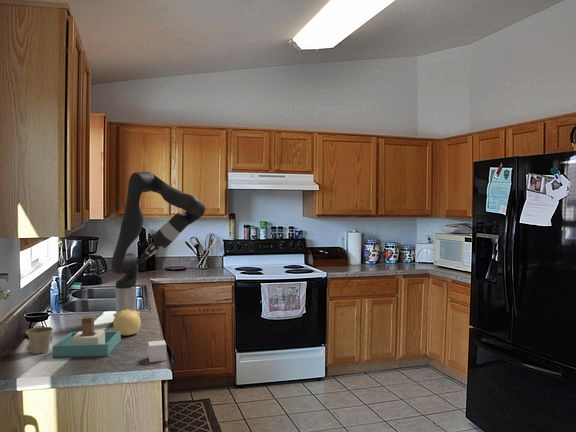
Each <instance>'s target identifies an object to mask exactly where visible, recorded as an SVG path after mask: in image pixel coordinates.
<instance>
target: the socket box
mask: <svg viewBox="0 0 576 432" xmlns="http://www.w3.org/2000/svg"><path fill="white" fill-rule="evenodd" d="M121 342H122V335H121V331H114V330H110V331H108V330H107V331H106V330H94V336H82V330H81V331H73V332H71V331H70V333H68V334H67V335H66V336H64V337H63V338H61V339H60V340H59V341H58V342H56V343H55V344H54V345H52V359H66V358H67V359H71V358H72V359H73V358H99V357H100V358H101V357H109V356H110V355H111V354H112V353H113V351H114V350H116V348H117V347H118V346H119V344H120V343H121Z"/></svg>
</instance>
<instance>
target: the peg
mask: <svg viewBox="0 0 576 432" xmlns="http://www.w3.org/2000/svg"><path fill="white" fill-rule="evenodd" d="M81 331H82V336H94V331H95V316H84V317H83V318H82V319H81Z"/></svg>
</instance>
